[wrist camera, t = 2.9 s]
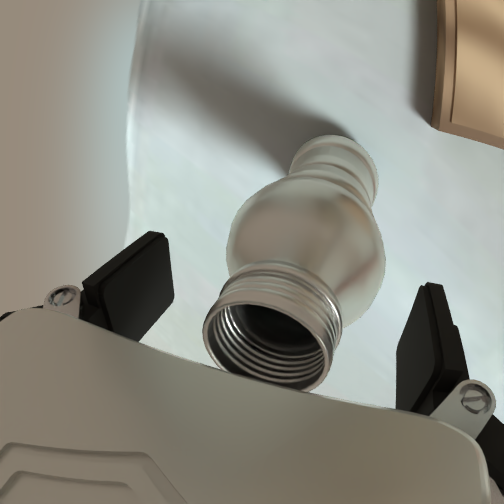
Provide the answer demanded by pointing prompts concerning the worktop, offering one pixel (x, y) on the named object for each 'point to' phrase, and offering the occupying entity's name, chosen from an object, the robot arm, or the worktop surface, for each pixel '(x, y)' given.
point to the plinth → (470, 70)
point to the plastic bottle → (299, 267)
